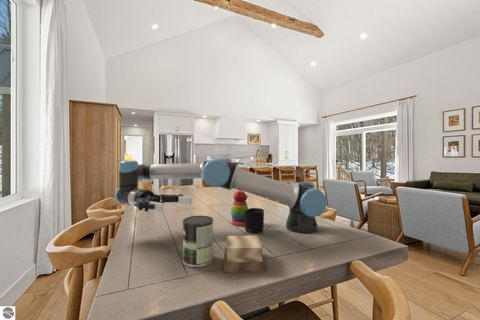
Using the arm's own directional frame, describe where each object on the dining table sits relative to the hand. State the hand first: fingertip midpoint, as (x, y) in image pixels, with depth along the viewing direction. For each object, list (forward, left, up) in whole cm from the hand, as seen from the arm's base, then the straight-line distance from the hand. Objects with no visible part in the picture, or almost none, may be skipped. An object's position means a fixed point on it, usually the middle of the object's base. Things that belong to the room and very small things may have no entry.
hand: (177, 204), depth 80 cm
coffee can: (-8, +6, -18) cm, 21 cm away
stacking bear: (-25, -35, -18) cm, 47 cm away
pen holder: (-31, -23, -18) cm, 43 cm away
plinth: (-24, +8, -18) cm, 31 cm away
